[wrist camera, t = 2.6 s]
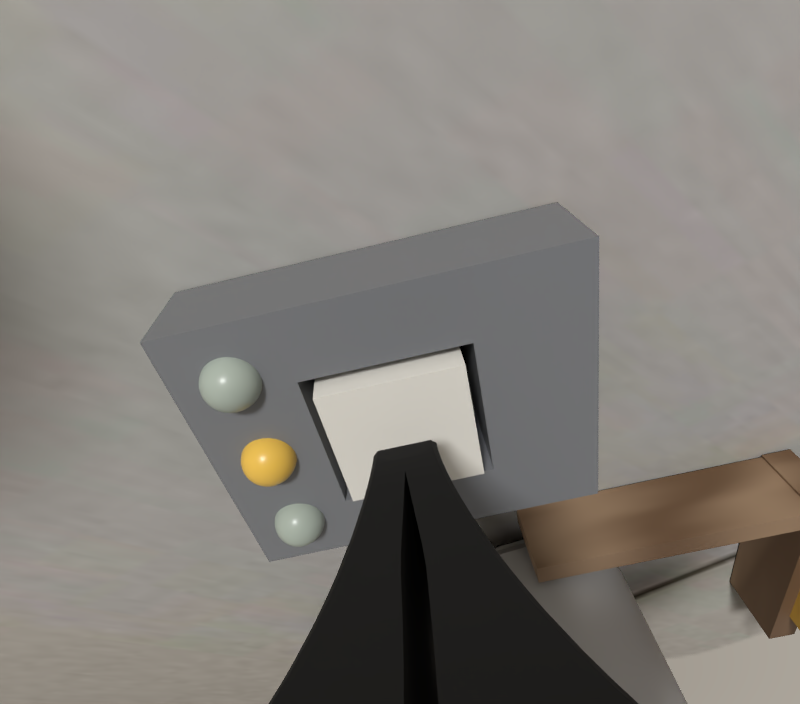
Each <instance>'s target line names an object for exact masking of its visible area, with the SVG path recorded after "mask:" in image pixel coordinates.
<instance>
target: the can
mask: <svg viewBox="0 0 800 704" xmlns="http://www.w3.org/2000/svg"><path fill="white" fill-rule="evenodd" d="M496 551H497V552H498V553H499V555H500V556H501V557H502V559H503V560H504V561H505V563H506V564H507V565H508V566H509V568H510V569H511V570H512V571H513V573H514V574H515V575H516V576H517V578H518V579H519V580H520V581H521V583H522V584H523V585H524V586H525V587H526V589H527V590H528V591H529V592H530V593H531V594H532V596H533V597H534V598H535V599H536V600H537V601H538V602H539V604H540V605H541V606H542V607H543V608H544V609H545V610H546V612H547V613H548V614H549V615H550V616H551V617H552V618H553V619H554V620H555V621H556V622H557V623H558V624H559V625H560V626H561V627H562V629H563V630H564V631H565V632H566V633H567V634H568V635H569V636H570V637H571V638H572V639H573V640H574V641H575V642H576V643H577V644H578V646H579V647H580V648H581V649H582V650H583V651H584V652H585V653H586V654H587V655H588V656H589V657H590V658H591V659H592V660H593V661H594V662H595V663H596V664H597V665H598V666H599V667H600V668H602V669H603V670H604V671H605V672H606V673H607V674H608V675H609V676H610V677H611V678H612V679H613V680H614V681H615V682H616V683H617V684H618V685H619V686H620V687H621V688H622V689H623V690H624V691H626V692H627V693H628V694H629V695H630V696H631V697H632V698H633V699H634V700H635V701H636V702H637V703H638V704H687V702H686V700H685V698H684V696H683V694H682V692H681V690H680V688H679V686H678V684H677V682H676V680H675V678H674V676H673V674H672V672H671V670H670V668H669V666H668V664H667V662H666V660H665V658H664V656H663V654H662V652H661V650H660V648H659V646H658V644H657V642H656V640H655V638H654V636H653V634H652V632H651V630H650V628H649V626H648V624H647V622H646V620H645V618H644V616H643V614H642V612H641V610H640V608H639V606H638V604H637V602H636V600H635V598H634V596H633V594H632V592H631V590H630V588H629V586H628V584H627V582H626V580H625V578H624V576H623V574H622V572H621V570H620V569H619V568H618V567H615V568H610V569H605V570H600V571H595V572H590V573H585V574H580V575H575V576H570V577H565V578H560V579H555V580H550V581H545V582H540V583H539V582H538V579H537V576H536V573H535V570H534V567H533V565H532V562H531V559H530V556H529V553H528V550H527V547H526V544H525V541H524V540H520V541H517V542H513V543H510V544H506V545H503V546H499V547H498V548H496Z"/></svg>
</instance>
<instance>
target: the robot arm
mask: <svg viewBox="0 0 800 704" xmlns="http://www.w3.org/2000/svg"><path fill="white" fill-rule="evenodd" d="M269 704H638V703H637V702H636V701H635V700H634V699H633V698H632V697H631V696H630V695H629V694H628V693H627V692H626V691H624V690H623V689H622V688H621V687H620V686H619V685H618V684H617V683H616V682H615V681H614V680H613V679H612V678H611V677H610V676H609V675H608V674H607V673H606V672H605V671H604V670H603V669H602V668H600V667H599V666H598V665H597V664H596V663H595V662H594V661H593V660H592V659H591V658H590V657H589V656H588V655H587V654H586V653H585V652H584V651H583V650H582V649H581V648H580V647H579V646H578V644H577V643H576V642H575V641H574V640H573V639H572V638H571V637H570V636H569V635H568V634H567V633H566V632H565V631H564V630H563V629H562V627H561V626H560V625H559V624H558V623H557V622H556V621H555V620H554V619H553V618H552V617H551V616H550V615H549V614H548V613H547V612H546V610H545V609H544V608H543V607H542V606H541V605H540V604H539V602H538V601H537V600H536V599H535V598H534V597H533V596H532V594H531V593H530V592H529V591H528V590H527V589H526V587H525V586H524V585H523V584H522V583H521V581H520V580H519V579H518V578H517V576H516V575H515V574H514V573H513V571H512V570H511V569H510V568H509V566H508V565H507V564H506V563H505V561H504V560H503V559H502V557H501V556H500V555H499V553H498V552H497V551H496V549H495V548H494V547H493V545H492V544H491V542H490V541H489V540H488V538H487V537H486V535H485V534H484V533H483V531H482V530H481V528H480V527H479V525H478V524H477V522H476V521H475V519H474V518H473V516H472V515H471V513H470V511H469V510H468V508H467V506H466V505H465V503H464V502H463V500H462V498H461V497H460V495H459V493H458V492H457V490H456V488H455V486H454V484H453V482H452V480H451V478H450V477H449V475H448V473H447V471H446V468H445V466H444V464H443V462H442V459H441V456H440V454H439V451H438V447H437V443H436V442H434V441H432V440H427V441H423V442H418V443H413V444H408V445H404V446H399V447H394V448H390V449H385V450H380V451H377V452H376V454H375V455H374V458H373V464H372V469H371V474H370V478H369V482H368V486H367V490H366V493H365V497H364V500H363V504H362V507H361V510H360V513H359V516H358V519H357V522H356V525H355V528H354V531H353V534H352V537H351V540H350V543H349V545H348V548H347V550H346V553H345V555H344V558H343V560H342V563H341V566H340V568H339V571H338V573H337V576H336V578H335V580H334V582H333V585H332V587H331V589H330V592H329V594H328V596H327V598H326V600H325V602H324V605H323V607H322V609H321V611H320V613H319V615H318V617H317V619H316V621H315V623H314V625H313V627H312V629H311V631H310V633H309V635H308V636H307V638H306V640H305V642H304V644H303V646H302V648H301V650H300V651H299V653H298V655H297V657H296V659H295V661H294V662H293V664H292V666H291V668H290V670H289V671H288V673H287V675H286V677H285V678H284V680H283V682H282V683H281V685H280V686H279V688H278V690H277V691H276V693H275V695H274V696H273V698H272V699H271V701H270V703H269Z"/></svg>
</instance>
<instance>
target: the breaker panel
mask: <svg viewBox="0 0 800 704" xmlns="http://www.w3.org/2000/svg"><path fill="white" fill-rule="evenodd" d="M140 344H141V346H142V347H143V349H144V351H145V352H146V354H147V356H148V357H149V359H150V361H151V362H152V364H153V366H154V368H155V369H156V371H157V373H158V374H159V376H160V378H161V379H162V381H163V383H164V384H165V386H166V388H167V390H168V391H169V393H170V395H171V396H172V398H173V400H174V401H175V403H176V405H177V406H178V408H179V410H180V412H181V413H182V415H183V417H184V418H185V420H186V422H187V423H188V425H189V427H190V428H191V430H192V432H193V433H194V435H195V437H196V439H197V440H198V442H199V444H200V445H201V447H202V449H203V450H204V452H205V454H206V455H207V457H208V459H209V461H210V462H211V464H212V466H213V467H214V469H215V471H216V472H217V474H218V476H219V477H220V479H221V481H222V483H223V484H224V486H225V488H226V489H227V491H228V493H229V494H230V496H231V498H232V499H233V501H234V503H235V504H236V506H237V508H238V510H239V511H240V513H241V515H242V516H243V518H244V520H245V521H246V523H247V525H248V526H249V528H250V530H251V532H252V533H253V535H254V537H255V538H256V540H257V542H258V543H259V545H260V547H261V548H262V550H263V552H264V554H265V555H266V557H267V559H268V560H269V562H271V561H275V560H280V559H285V558H290V557H295V556H299V555H304V554H309V553H314V552H319V551H323V550H328V549H333V548H338V547H343V546H348V545H349V543H350V540H351V537H352V534H353V531H354V528H355V525H356V522H357V519H358V516H359V513H360V510H361V507H362V504H363V500H364V499H362V500H358V501H353V500H352V497H351V495H350V492H349V490H348V487H347V485H346V482H345V480H344V477H343V474H342V472H341V469H340V467H339V464H338V462H337V459H336V457H335V454H334V452H333V449H332V447H331V444H330V442H329V439H328V437H327V434H326V432H325V429H324V427H323V424H322V421H321V419H320V416H319V414H318V411H317V409H316V406H315V404H314V401H313V391H314V382H315V379H316V378H320V377H324V376H329V375H333V374H338V373H342V372H347V371H351V370H356V369H360V368H364V367H369V366H373V365H378V364H382V363H387V362H391V361H396V360H400V359H405V358H409V357H413V356H418V355H422V354H427V353H431V352H436V351H440V350H445V349H449V348H453V347H458V346H462V345H463V346H464V352H465V357H466V363H467V369H468V375H469V381H470V386H471V392H472V398H473V404H474V410H475V412H474V417H475V422H476V428H477V434H478V440H479V445H480V451H481V457H482V463H483V468H484V474H480V475H476V476H471V477H466V478H461V479H457V480H452V482H453V484H454V486H455V488H456V490H457V492H458V493H459V495H460V497H461V498H462V500H463V502H464V503H465V505H466V506H467V508H468V510H469V511H470V513H471V515H472V516H473V518H474V519H477V518H482V517H487V516H492V515H497V514H501V513H506V512H511V511H516V510H521V509H526V508H530V507H535V506H540V505H545V504H550V503H554V502H559V501H564V500H569V499H574V498H578V497H583V496H588V495H593V494H598V376H599V236H598V235H597V234H596V233H595V232H593V231H592V230H591V229H590V228H588V227H587V226H586V225H585V224H583V223H582V222H581V221H580V220H579V219H577V218H576V217H575V216H574V215H572V214H571V213H570V212H569V211H568V210H566V209H565V208H564V207H563V206H561V205H560V204H559V203H558V202H556V203H552V204H548V205H544V206H539V207H535V208H531V209H527V210H522V211H518V212H514V213H510V214H505V215H501V216H497V217H493V218H489V219H484V220H480V221H476V222H472V223H467V224H463V225H459V226H455V227H450V228H446V229H442V230H438V231H434V232H429V233H425V234H421V235H417V236H412V237H408V238H404V239H400V240H395V241H391V242H387V243H383V244H378V245H374V246H370V247H366V248H362V249H357V250H353V251H349V252H345V253H340V254H336V255H332V256H328V257H323V258H319V259H315V260H311V261H307V262H302V263H298V264H294V265H290V266H285V267H281V268H277V269H273V270H268V271H264V272H260V273H256V274H251V275H247V276H243V277H239V278H235V279H230V280H226V281H222V282H218V283H213V284H209V285H205V286H201V287H196V288H192V289H188V290H184V291H180V292H175V293H174V294H173V296H172V297H171V298H170V300H169V301H168V303H167V304H166V306H165V307H164V309H163V310H162V311H161V313H160V314H159V316H158V317H157V319H156V320H155V322H154V323H153V324H152V326H151V327H150V329H149V330H148V332H147V333H146V335H145V336H144V337H143V339H142V340H141V342H140Z"/></svg>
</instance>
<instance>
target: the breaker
mask: <svg viewBox="0 0 800 704" xmlns="http://www.w3.org/2000/svg"><path fill="white" fill-rule="evenodd" d="M313 401H314V404H315V406H316V409H317V411H318V414H319V416H320V419H321V421H322V424H323V427H324V429H325V432H326V434H327V437H328V439H329V442H330V444H331V447H332V449H333V452H334V454H335V457H336V459H337V462H338V464H339V467H340V469H341V472H342V474H343V477H344V480H345V482H346V485H347V487H348V490H349V492H350V495H351V497H352V500H353V501H358V500H362V499H364V497H365V493H366V490H367V486H368V482H369V478H370V474H371V469H372V464H373V458H374V455H375V454H376V452H377V451H380V450H385V449H390V448H394V447H399V446H404V445H408V444H413V443H418V442H423V441H427V440H432V441H434V442H436V443H437V447H438V451H439V454H440V456H441V459H442V462H443V464H444V466H445V468H446V471H447V473H448V475H449V477H450V478H451V480H457V479H461V478H466V477H471V476H476V475H480V474H484V468H483V463H482V457H481V451H480V445H479V440H478V434H477V428H476V422H475V417H474V411H473V405H472V399H471V394H470V388H469V382H468V376H467V371H466V365H465V362H464V359H463V356H462V353H461V350H460V347H459V346H458V347H453V348H449V349H445V350H440V351H436V352H431V353H427V354H422V355H418V356H413V357H409V358H405V359H400V360H396V361H391V362H387V363H382V364H378V365H373V366H369V367H364V368H360V369H356V370H351V371H347V372H342V373H338V374H333V375H329V376H324V377H320V378H316V379H315V382H314V391H313Z"/></svg>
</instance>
